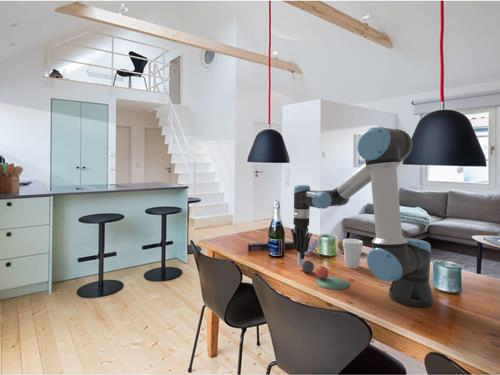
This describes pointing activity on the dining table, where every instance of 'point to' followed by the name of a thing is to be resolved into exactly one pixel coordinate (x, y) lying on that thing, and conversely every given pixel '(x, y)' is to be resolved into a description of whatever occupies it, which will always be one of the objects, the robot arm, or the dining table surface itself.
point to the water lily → (313, 246)
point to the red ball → (322, 272)
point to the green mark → (332, 283)
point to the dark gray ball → (308, 266)
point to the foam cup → (352, 252)
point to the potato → (340, 245)
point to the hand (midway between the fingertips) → (300, 264)
